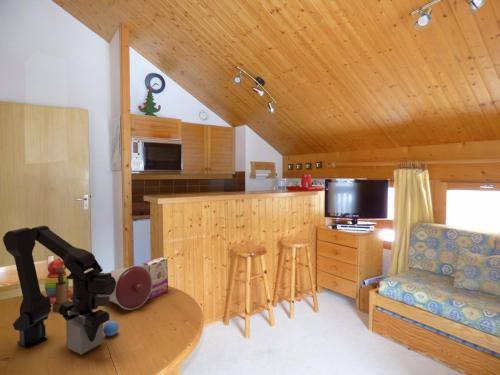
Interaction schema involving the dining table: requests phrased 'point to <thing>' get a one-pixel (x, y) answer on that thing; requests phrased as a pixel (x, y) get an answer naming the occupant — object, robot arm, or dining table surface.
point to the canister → (131, 287)
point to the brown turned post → (60, 290)
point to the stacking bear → (55, 280)
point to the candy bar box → (158, 276)
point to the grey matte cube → (81, 335)
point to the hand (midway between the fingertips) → (84, 337)
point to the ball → (110, 328)
